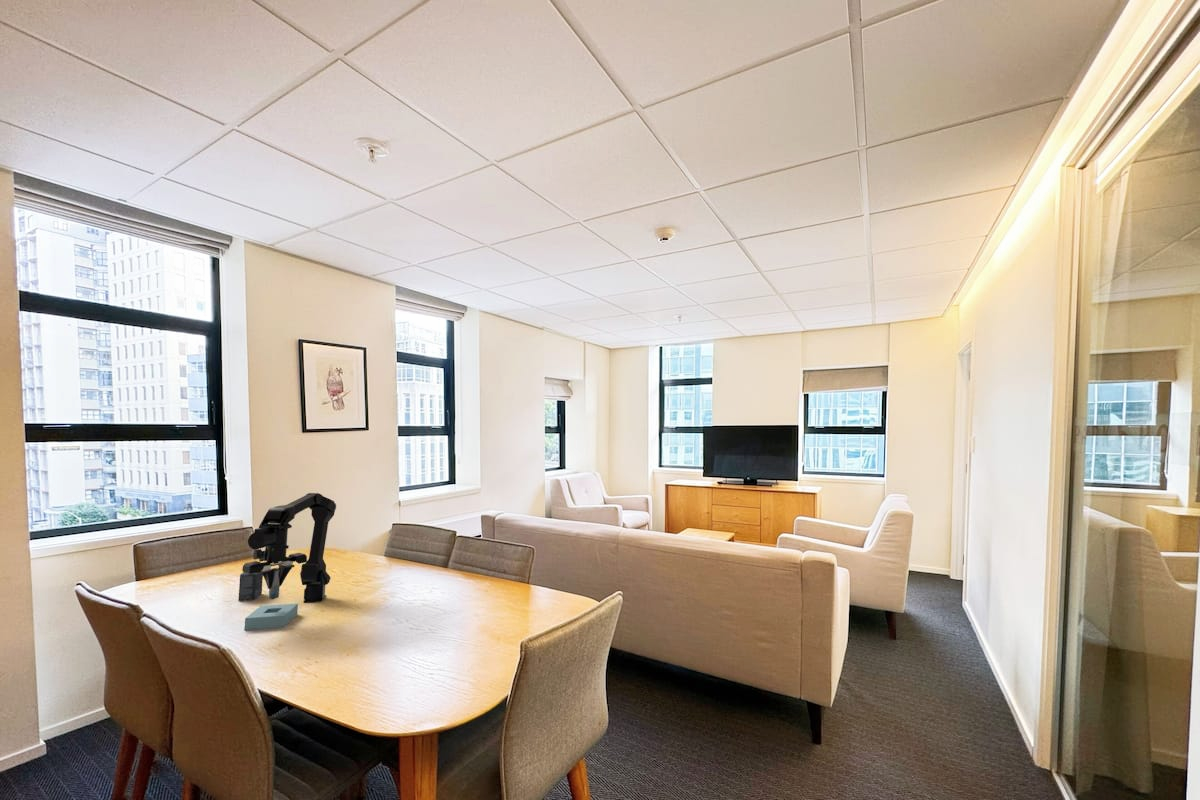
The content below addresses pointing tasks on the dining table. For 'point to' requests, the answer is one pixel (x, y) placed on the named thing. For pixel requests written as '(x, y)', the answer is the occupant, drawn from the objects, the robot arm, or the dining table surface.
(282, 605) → the hole block
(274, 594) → the peg
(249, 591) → the box
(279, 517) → the robot arm
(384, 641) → the dining table surface
